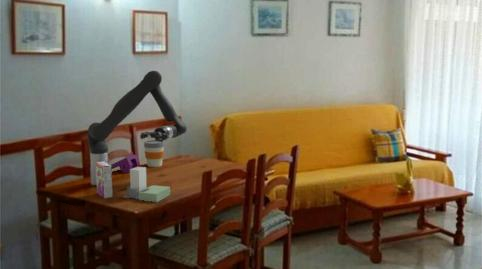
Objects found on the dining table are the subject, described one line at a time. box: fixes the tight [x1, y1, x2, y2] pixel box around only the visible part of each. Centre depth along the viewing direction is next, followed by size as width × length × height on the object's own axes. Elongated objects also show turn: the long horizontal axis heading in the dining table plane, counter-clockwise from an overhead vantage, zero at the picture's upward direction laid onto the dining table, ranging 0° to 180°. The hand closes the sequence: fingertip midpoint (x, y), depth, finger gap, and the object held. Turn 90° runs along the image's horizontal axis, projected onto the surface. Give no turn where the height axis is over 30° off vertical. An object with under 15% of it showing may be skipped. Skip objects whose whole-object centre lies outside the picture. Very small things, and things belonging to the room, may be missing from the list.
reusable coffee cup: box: [143, 139, 165, 168], centre depth 338 cm, size 13×12×15 cm
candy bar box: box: [95, 162, 114, 200], centre depth 271 cm, size 11×5×16 cm, turn 33°
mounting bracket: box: [110, 154, 141, 174], centre depth 326 cm, size 9×8×18 cm
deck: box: [122, 184, 171, 203], centre depth 270 cm, size 14×19×4 cm
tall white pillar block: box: [129, 166, 148, 197], centre depth 271 cm, size 7×5×14 cm
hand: (148, 137), depth 277 cm, fingers open, 8 cm apart
